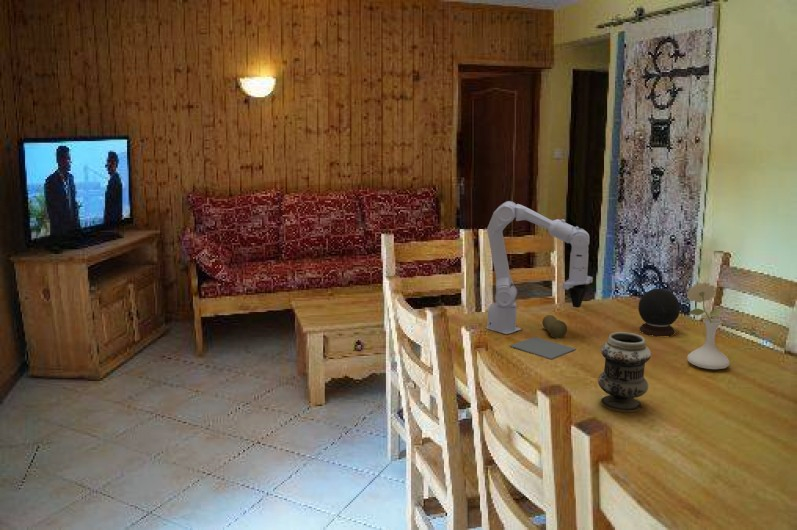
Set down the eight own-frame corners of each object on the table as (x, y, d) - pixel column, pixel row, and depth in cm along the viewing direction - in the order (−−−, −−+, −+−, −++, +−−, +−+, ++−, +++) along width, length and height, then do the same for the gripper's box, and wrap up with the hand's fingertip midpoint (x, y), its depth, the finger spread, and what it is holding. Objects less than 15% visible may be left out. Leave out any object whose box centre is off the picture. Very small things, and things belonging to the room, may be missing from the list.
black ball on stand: (681, 329, 226) (684, 287, 223) (673, 340, 215) (677, 296, 212) (641, 323, 233) (644, 282, 230) (632, 333, 222) (635, 290, 219)
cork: (568, 336, 217) (557, 328, 228) (566, 319, 216) (555, 311, 227) (550, 340, 217) (541, 331, 228) (548, 322, 216) (538, 314, 227)
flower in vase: (728, 362, 195) (737, 280, 190) (729, 375, 185) (739, 289, 180) (681, 356, 200) (688, 276, 195) (679, 368, 190) (687, 285, 185)
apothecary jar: (640, 418, 158) (646, 347, 154) (590, 407, 164) (595, 339, 160) (651, 401, 168) (656, 334, 164) (603, 391, 174) (608, 326, 170)
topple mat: (509, 346, 209) (509, 345, 209) (534, 337, 218) (534, 336, 218) (551, 359, 198) (551, 358, 197) (575, 349, 206) (575, 348, 206)
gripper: (576, 272, 207) (574, 313, 209) (601, 265, 216) (599, 305, 219) (557, 268, 212) (555, 309, 215) (583, 262, 221) (580, 301, 224)
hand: (576, 306), depth 217 cm, fingers closed
